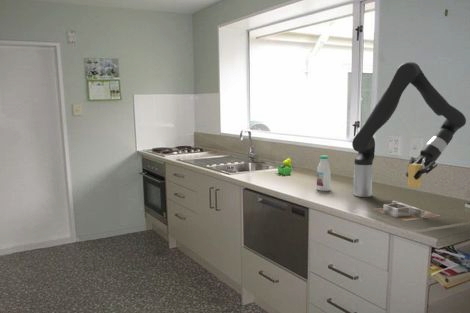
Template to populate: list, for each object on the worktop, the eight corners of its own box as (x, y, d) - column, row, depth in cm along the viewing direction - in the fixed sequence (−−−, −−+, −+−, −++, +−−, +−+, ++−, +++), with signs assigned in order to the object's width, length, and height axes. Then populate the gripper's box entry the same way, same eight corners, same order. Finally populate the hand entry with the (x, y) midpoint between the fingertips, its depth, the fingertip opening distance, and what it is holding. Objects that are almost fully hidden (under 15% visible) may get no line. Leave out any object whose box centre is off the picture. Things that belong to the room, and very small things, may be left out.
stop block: (407, 185, 178) (408, 164, 177) (414, 184, 179) (415, 163, 178) (414, 187, 174) (415, 165, 173) (421, 186, 176) (422, 164, 174)
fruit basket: (276, 173, 282) (276, 157, 281) (287, 172, 285) (287, 156, 283) (282, 175, 271) (282, 159, 270) (294, 174, 274) (294, 158, 272)
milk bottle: (328, 188, 232) (328, 154, 229) (331, 191, 224) (332, 156, 221) (315, 188, 232) (315, 154, 229) (318, 191, 224) (318, 156, 221)
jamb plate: (372, 211, 183) (372, 201, 182) (406, 206, 190) (407, 197, 189) (404, 223, 164) (404, 213, 164) (440, 217, 171) (441, 207, 170)
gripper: (417, 142, 183) (395, 169, 181) (442, 145, 170) (419, 175, 168) (425, 152, 186) (403, 179, 183) (451, 156, 172) (428, 185, 170)
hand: (411, 177), depth 176 cm, fingers closed on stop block, 4 cm apart
